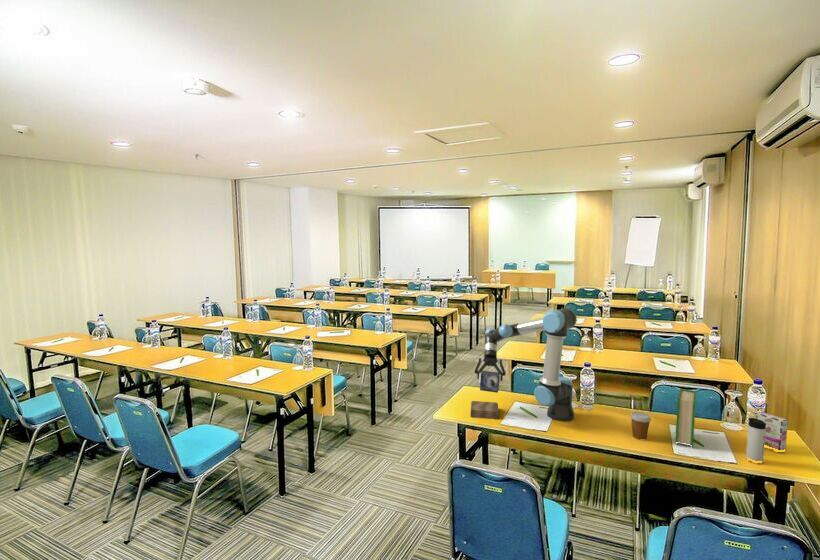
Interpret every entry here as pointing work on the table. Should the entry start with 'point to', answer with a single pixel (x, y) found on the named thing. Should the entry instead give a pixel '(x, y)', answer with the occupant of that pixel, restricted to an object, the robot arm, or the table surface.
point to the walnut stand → (484, 409)
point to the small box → (489, 381)
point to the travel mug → (756, 439)
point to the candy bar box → (774, 430)
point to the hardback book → (685, 416)
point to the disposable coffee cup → (640, 424)
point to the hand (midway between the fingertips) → (489, 384)
